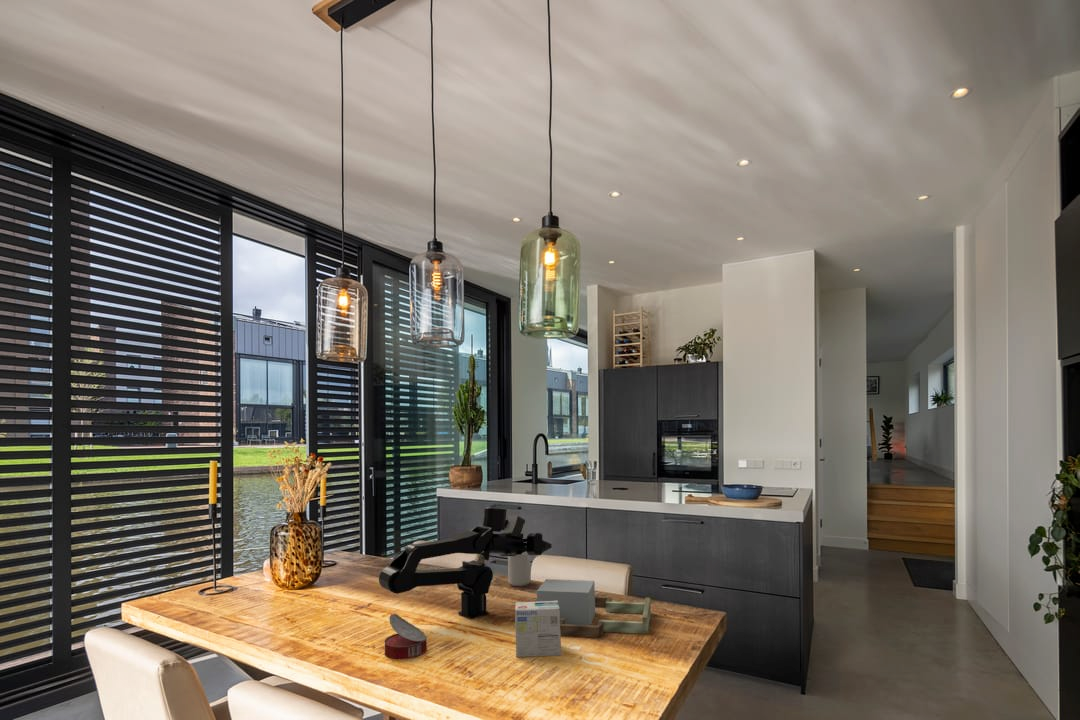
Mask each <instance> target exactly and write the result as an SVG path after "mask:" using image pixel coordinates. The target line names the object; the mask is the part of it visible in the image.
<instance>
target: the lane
mask: <svg viewBox="0 0 1080 720" xmlns="http://www.w3.org/2000/svg"><path fill="white" fill-rule="evenodd" d="M595 607H599V608H601V607H603V608H604V607H605V612H606V613H623V614H627V613H628V614H642V619H641V620H642V621H635V620H633V621H631V620H614V619H612V620H611V619H610V620H608V619H599V620H598V622H597V625H592V624H591V625H573V624H565V618H560V634H561V637H576V638H577V637H579V638H597V639H599V638H600V637H602V636H603V634H604V632H606V633H620V634H621V633H625V634H642V635H647V634H649V629H650V620H651V613H652V611H651V610H652V609H651V597H645V599H644V602H631V601H630V602H627V601H625V602H624V601H613V598H612V597H611V596H596V595H595Z"/></svg>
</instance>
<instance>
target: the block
mask: <svg viewBox="0 0 1080 720" xmlns="http://www.w3.org/2000/svg"><path fill="white" fill-rule="evenodd" d="M595 589H596V588H595V580H583V579H581V580H579V579H549V578H547V579H545V580H544V581H543V582H542V583H541V585H540V586H539V588H538V589H537V590H536V602H539V601H558V604H559V611H560V618H565V624H573V625H592V622H593V620H594V618H595V615H596V606H595V596H596V593H595V592H596V591H595Z"/></svg>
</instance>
